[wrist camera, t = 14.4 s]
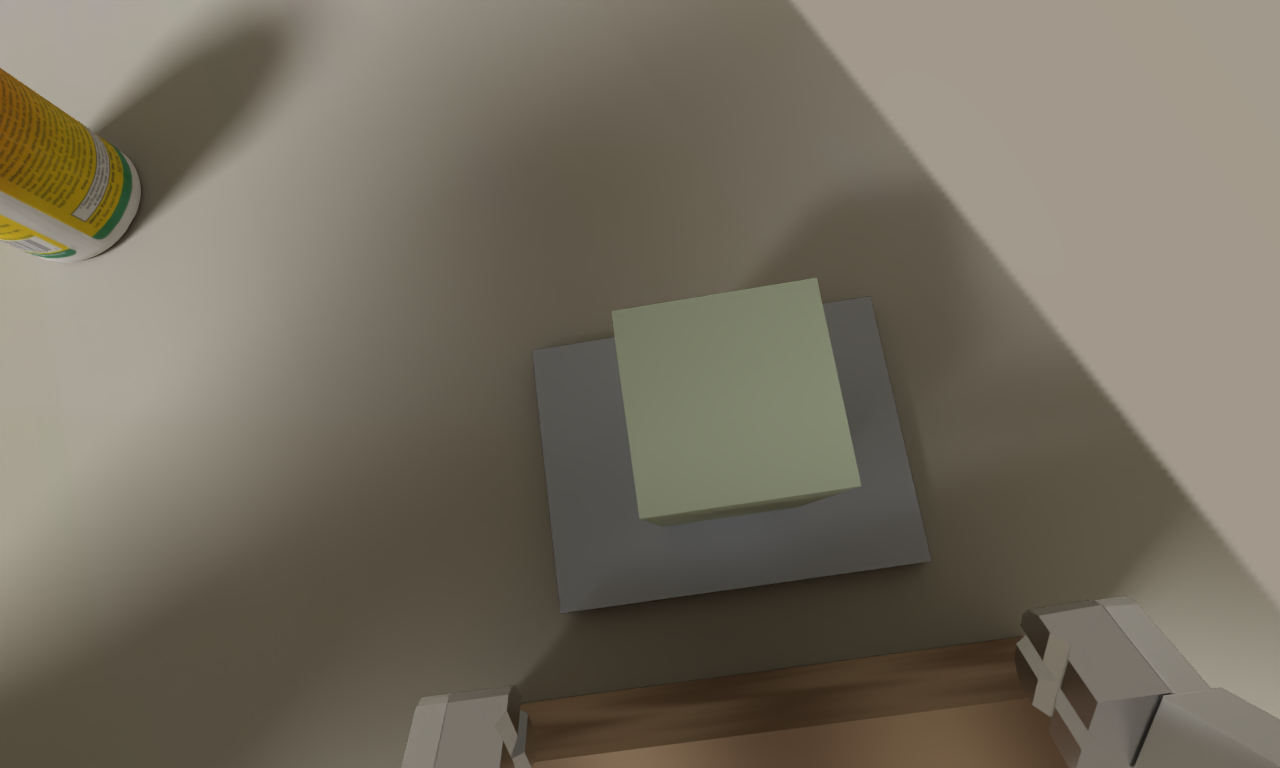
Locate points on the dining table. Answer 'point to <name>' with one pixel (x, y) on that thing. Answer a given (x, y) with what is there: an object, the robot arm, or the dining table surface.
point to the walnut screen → (812, 717)
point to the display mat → (728, 547)
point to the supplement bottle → (59, 180)
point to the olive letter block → (733, 404)
